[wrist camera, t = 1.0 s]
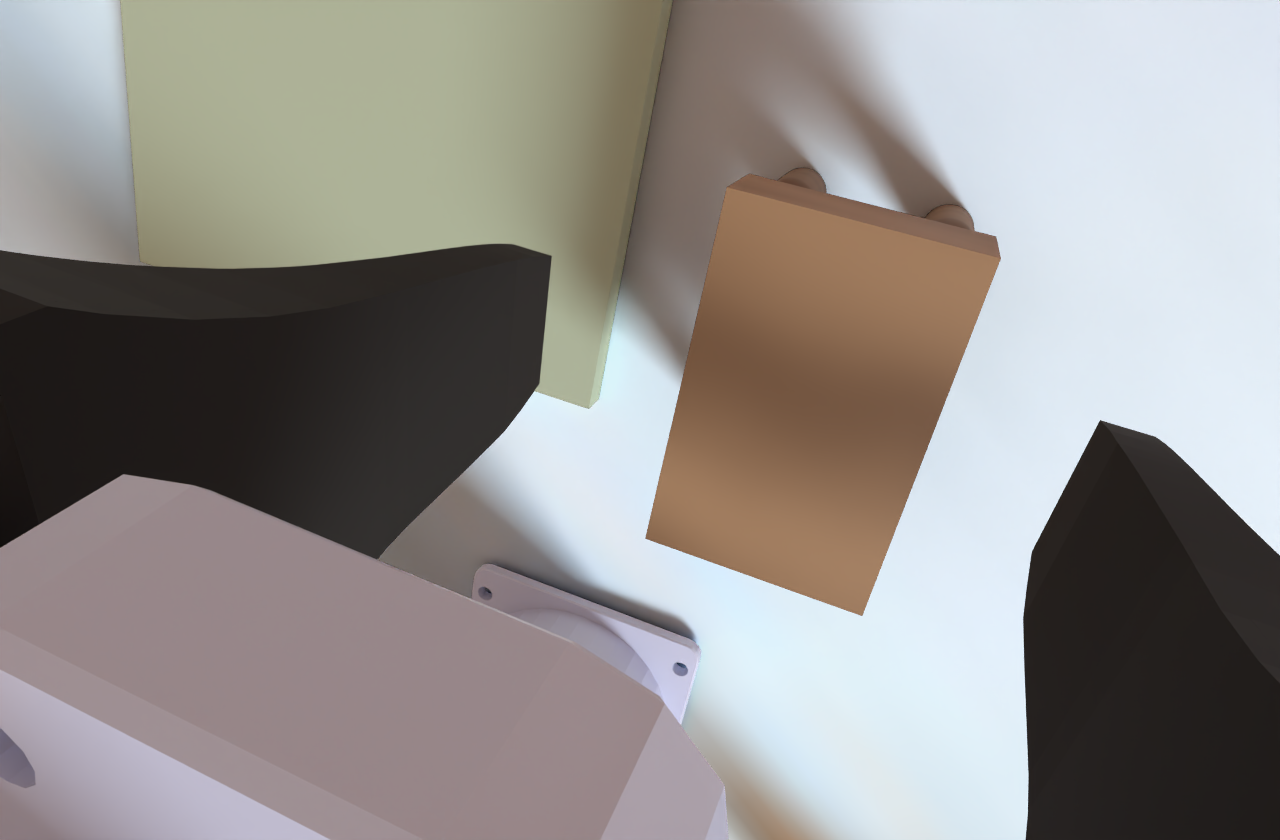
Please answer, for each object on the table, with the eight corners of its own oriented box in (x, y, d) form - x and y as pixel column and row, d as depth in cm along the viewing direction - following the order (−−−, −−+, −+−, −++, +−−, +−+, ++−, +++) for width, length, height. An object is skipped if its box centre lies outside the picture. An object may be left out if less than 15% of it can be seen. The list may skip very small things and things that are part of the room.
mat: (598, 399, 26) (588, 408, 25) (159, 256, 29) (139, 261, 28) (701, -157, 19) (692, -164, 19) (126, -256, 23) (100, -266, 22)
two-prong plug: (882, 491, 24) (862, 616, 18) (710, 435, 25) (645, 538, 20) (989, 204, 20) (1000, 258, 15) (783, 153, 21) (727, 187, 16)
